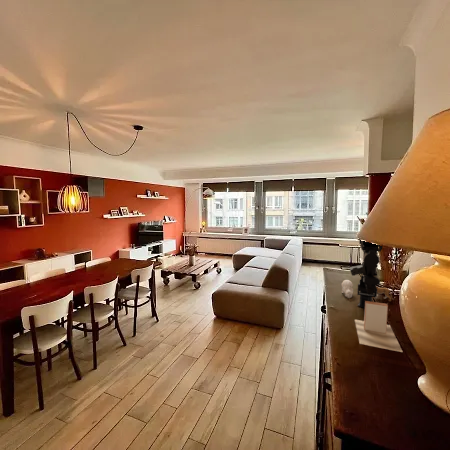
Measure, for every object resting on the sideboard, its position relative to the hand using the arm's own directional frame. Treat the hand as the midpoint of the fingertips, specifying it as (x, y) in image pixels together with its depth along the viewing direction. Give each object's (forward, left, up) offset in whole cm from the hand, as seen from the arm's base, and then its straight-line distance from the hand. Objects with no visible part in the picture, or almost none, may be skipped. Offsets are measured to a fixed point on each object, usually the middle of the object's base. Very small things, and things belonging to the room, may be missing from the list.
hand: (368, 293), depth 120 cm
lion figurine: (-32, -1, -12) cm, 34 cm away
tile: (+14, +6, -11) cm, 19 cm away
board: (+17, +7, -12) cm, 22 cm away
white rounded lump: (-24, -16, -12) cm, 31 cm away
